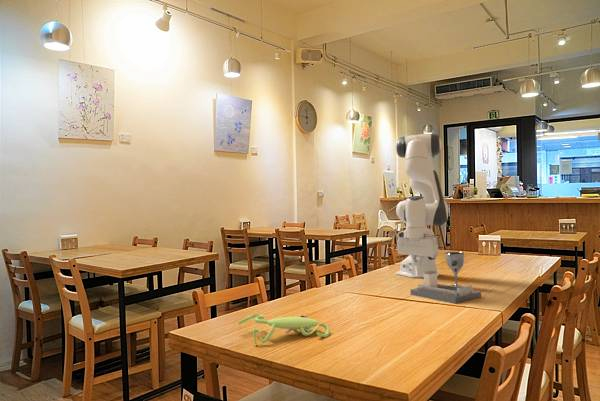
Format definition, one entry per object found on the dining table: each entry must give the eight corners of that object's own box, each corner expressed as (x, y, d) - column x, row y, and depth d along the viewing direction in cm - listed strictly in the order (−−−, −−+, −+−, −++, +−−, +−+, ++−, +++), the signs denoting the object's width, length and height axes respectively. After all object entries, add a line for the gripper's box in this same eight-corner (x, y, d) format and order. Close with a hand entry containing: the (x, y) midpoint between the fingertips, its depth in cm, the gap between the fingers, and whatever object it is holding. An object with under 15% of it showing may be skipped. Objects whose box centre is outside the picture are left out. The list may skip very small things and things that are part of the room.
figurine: (237, 331, 145) (236, 313, 145) (316, 322, 151) (316, 305, 151) (245, 349, 127) (244, 329, 127) (334, 338, 133) (333, 319, 133)
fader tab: (424, 288, 187) (423, 271, 187) (431, 286, 190) (431, 270, 190) (429, 289, 184) (429, 272, 184) (437, 287, 187) (437, 271, 187)
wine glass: (468, 288, 194) (467, 253, 194) (450, 288, 194) (448, 254, 194) (462, 284, 202) (460, 251, 202) (444, 285, 202) (443, 252, 202)
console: (410, 294, 186) (410, 282, 186) (435, 288, 195) (435, 277, 195) (455, 303, 168) (454, 290, 168) (481, 296, 177) (480, 284, 177)
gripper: (441, 234, 185) (442, 267, 185) (404, 232, 202) (405, 263, 202) (431, 234, 182) (432, 268, 182) (394, 233, 199) (395, 264, 198)
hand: (417, 266), depth 192 cm, fingers closed
